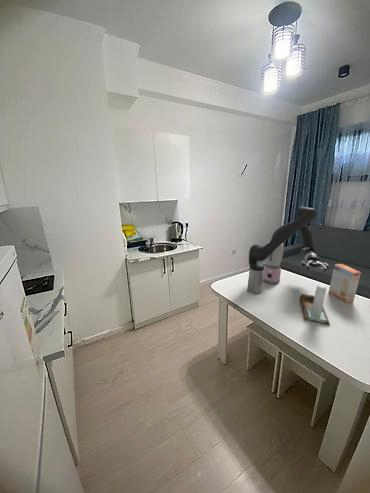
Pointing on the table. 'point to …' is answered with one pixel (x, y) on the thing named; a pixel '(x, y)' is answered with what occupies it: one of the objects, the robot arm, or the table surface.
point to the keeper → (318, 305)
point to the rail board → (310, 307)
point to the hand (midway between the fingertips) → (316, 269)
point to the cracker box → (344, 282)
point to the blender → (273, 266)
